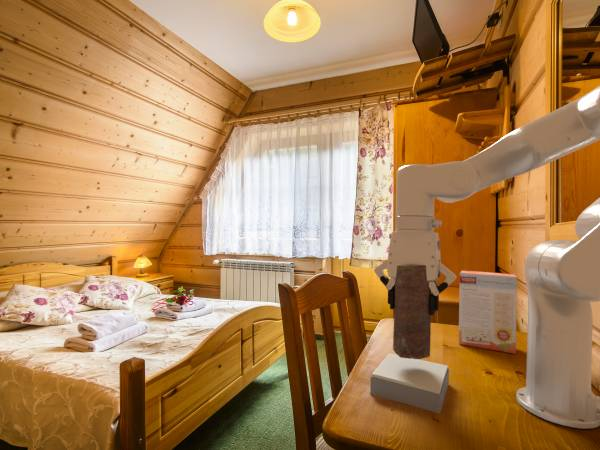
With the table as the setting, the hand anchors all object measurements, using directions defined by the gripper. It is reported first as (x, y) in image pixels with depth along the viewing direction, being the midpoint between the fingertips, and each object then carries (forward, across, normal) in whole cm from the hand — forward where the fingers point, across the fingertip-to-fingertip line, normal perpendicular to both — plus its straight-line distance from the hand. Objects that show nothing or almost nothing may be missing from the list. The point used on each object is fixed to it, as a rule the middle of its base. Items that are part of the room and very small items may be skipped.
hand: (412, 310), depth 68 cm
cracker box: (+16, -13, -37) cm, 43 cm away
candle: (+10, 0, 0) cm, 10 cm away
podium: (+16, 0, 0) cm, 16 cm away
